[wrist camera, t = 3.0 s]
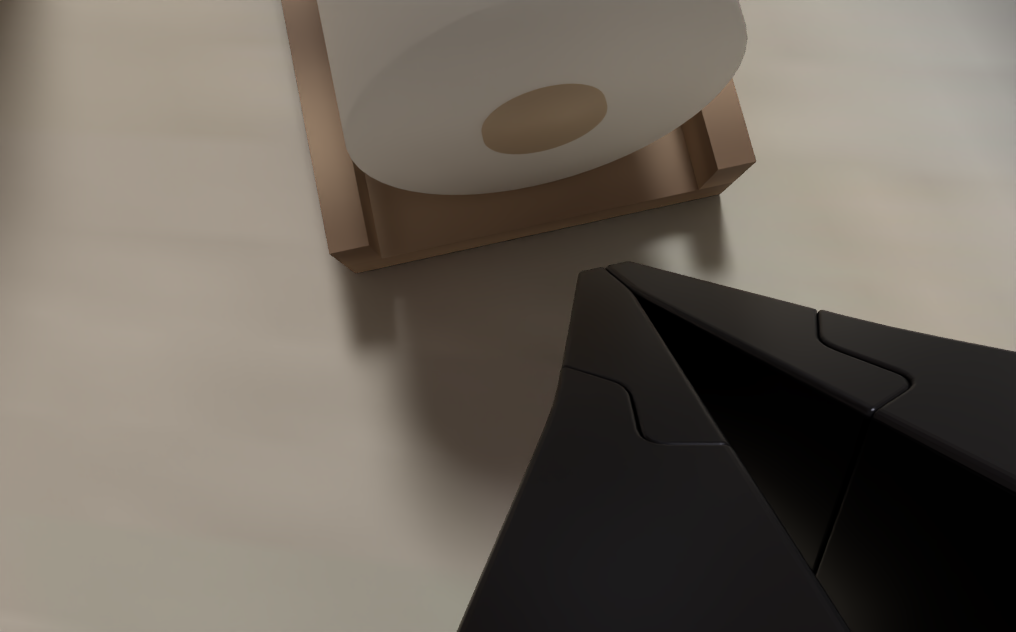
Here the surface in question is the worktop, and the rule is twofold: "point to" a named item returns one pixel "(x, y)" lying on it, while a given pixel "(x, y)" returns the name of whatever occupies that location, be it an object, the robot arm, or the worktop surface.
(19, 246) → the worktop surface
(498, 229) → the brown tray
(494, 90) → the kitchen roll
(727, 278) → the worktop surface
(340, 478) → the worktop surface
